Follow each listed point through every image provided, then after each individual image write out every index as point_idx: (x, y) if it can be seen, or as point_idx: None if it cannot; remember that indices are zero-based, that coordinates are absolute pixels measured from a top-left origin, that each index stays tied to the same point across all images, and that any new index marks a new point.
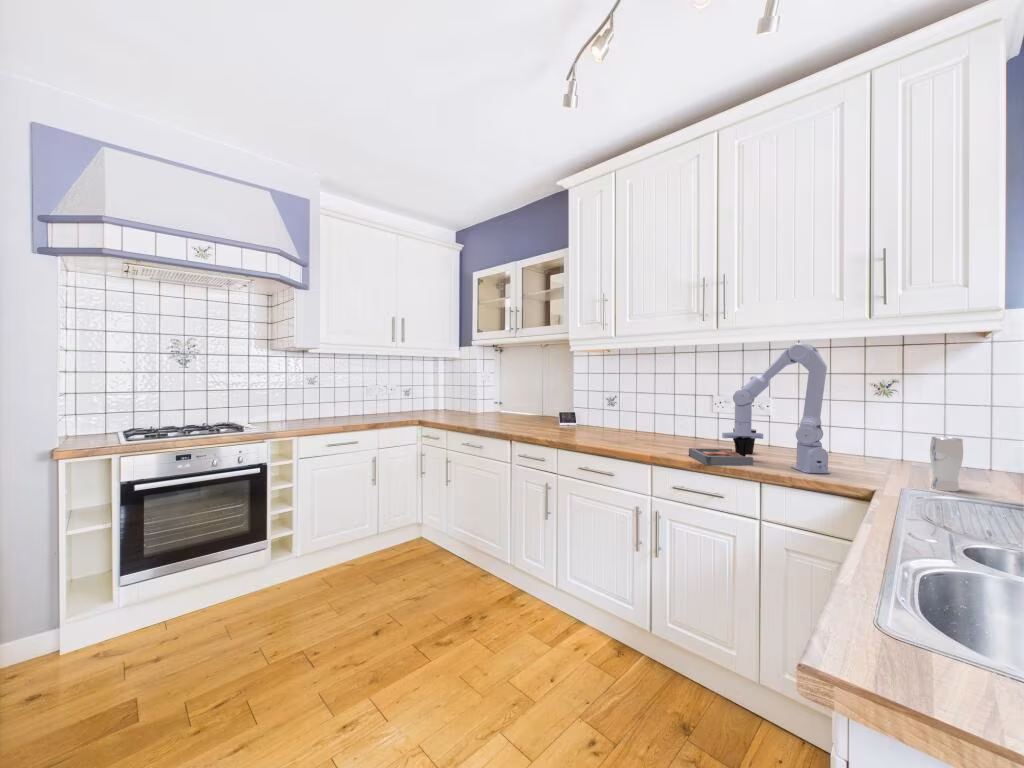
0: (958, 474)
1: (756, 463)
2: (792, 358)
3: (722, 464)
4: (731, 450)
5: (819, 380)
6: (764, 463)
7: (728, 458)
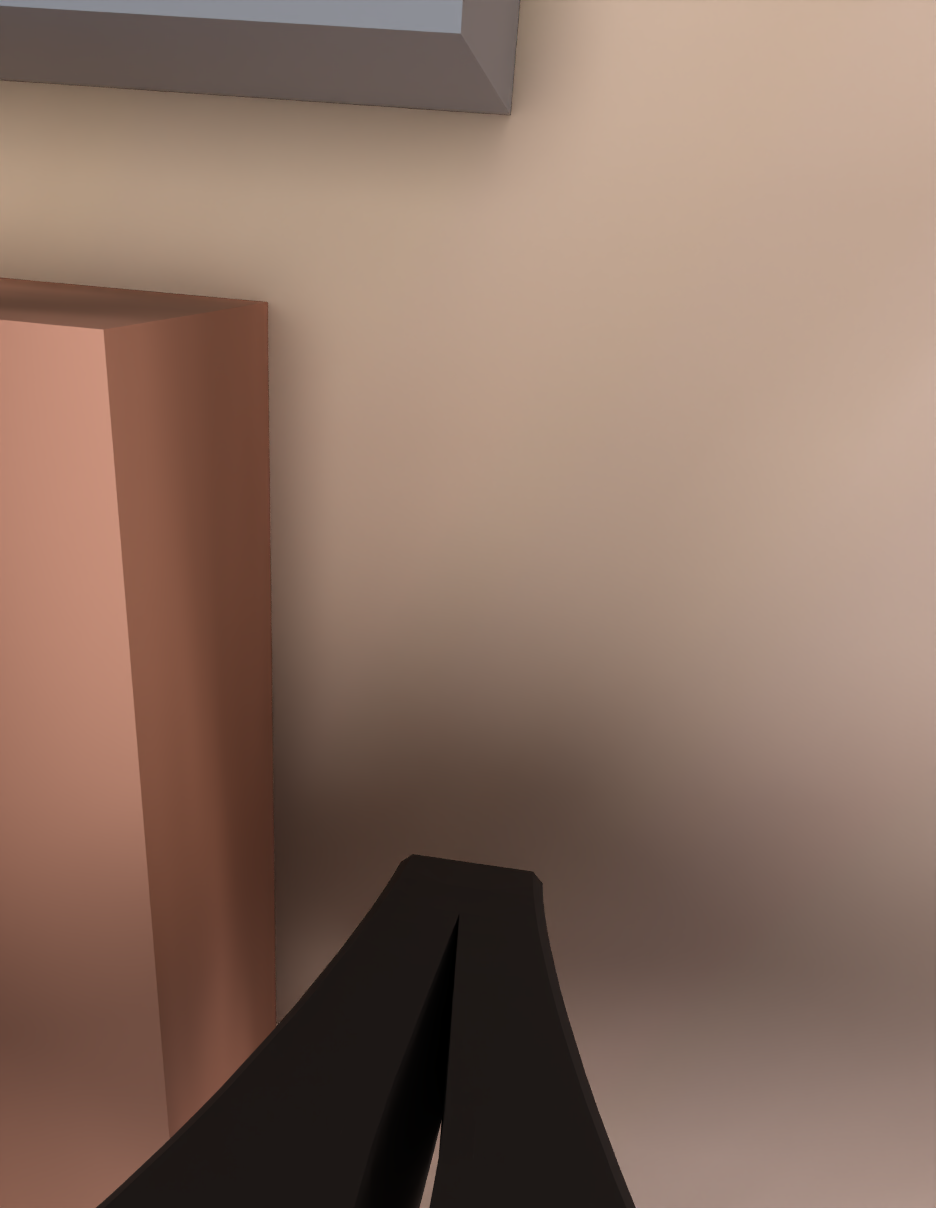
0: None
1: (683, 1165)
2: None
3: None
4: (418, 55)
5: None
6: (926, 1193)
7: None
